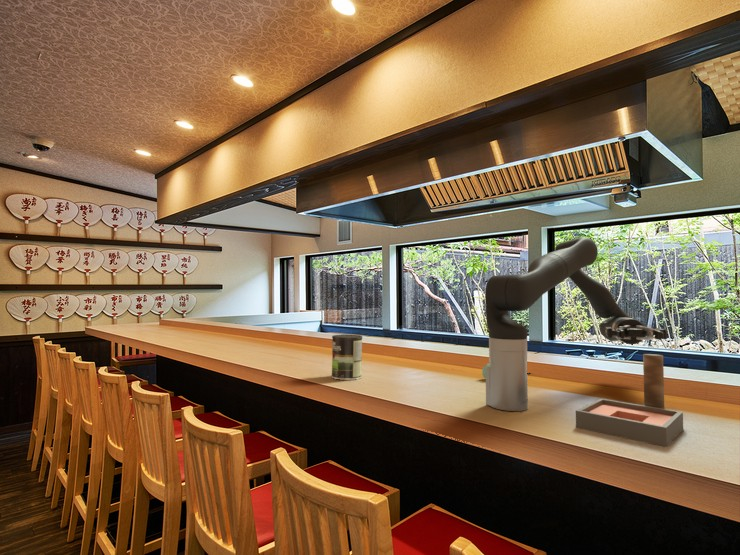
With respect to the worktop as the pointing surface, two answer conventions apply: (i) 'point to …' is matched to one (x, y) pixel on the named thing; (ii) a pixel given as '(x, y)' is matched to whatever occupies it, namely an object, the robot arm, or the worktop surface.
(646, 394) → the dowel
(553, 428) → the worktop surface
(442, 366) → the worktop surface
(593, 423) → the bore box
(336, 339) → the coffee can
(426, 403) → the worktop surface
